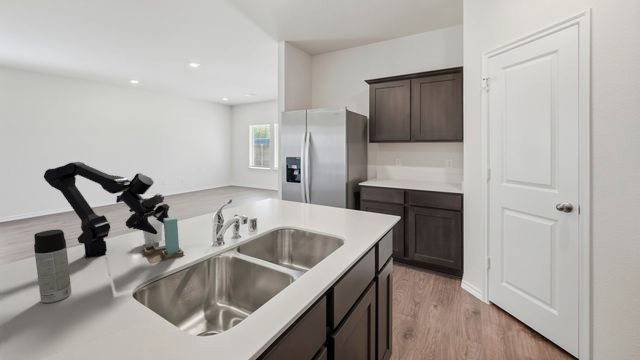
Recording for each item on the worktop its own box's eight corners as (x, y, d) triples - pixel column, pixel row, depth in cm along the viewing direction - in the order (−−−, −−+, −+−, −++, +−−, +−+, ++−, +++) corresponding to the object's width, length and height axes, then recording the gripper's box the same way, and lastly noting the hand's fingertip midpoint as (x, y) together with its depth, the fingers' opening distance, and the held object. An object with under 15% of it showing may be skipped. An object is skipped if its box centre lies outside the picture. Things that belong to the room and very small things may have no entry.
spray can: (69, 289, 86) (62, 227, 84) (74, 296, 82) (66, 231, 79) (39, 298, 81) (30, 232, 79) (42, 306, 77) (33, 237, 74)
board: (150, 266, 102) (149, 260, 102) (142, 252, 116) (141, 246, 115) (185, 258, 110) (184, 252, 110) (173, 245, 124) (173, 240, 123)
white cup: (148, 247, 122) (146, 225, 120) (140, 243, 126) (139, 222, 125) (166, 242, 128) (165, 221, 127) (159, 238, 133) (157, 218, 131)
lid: (155, 249, 112) (155, 243, 111) (152, 244, 117) (151, 238, 117) (175, 245, 116) (174, 239, 116) (170, 241, 122) (170, 235, 122)
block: (168, 257, 108) (165, 220, 106) (166, 254, 111) (163, 218, 109) (179, 255, 111) (177, 218, 109) (176, 252, 114) (174, 216, 112)
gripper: (129, 192, 99) (161, 222, 99) (163, 185, 117) (190, 210, 118) (111, 213, 100) (142, 243, 101) (148, 202, 119) (174, 228, 119)
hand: (164, 229), depth 110 cm, fingers open, 9 cm apart
